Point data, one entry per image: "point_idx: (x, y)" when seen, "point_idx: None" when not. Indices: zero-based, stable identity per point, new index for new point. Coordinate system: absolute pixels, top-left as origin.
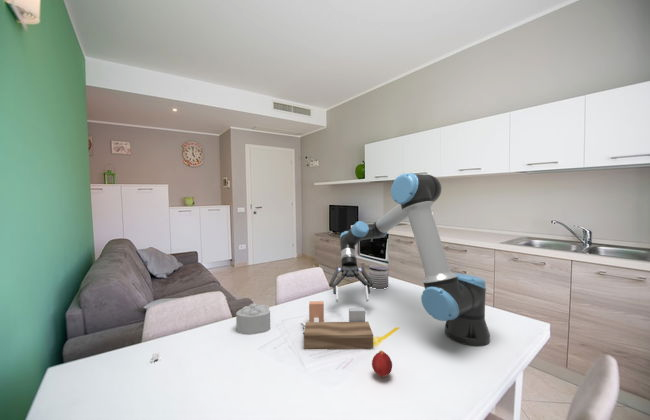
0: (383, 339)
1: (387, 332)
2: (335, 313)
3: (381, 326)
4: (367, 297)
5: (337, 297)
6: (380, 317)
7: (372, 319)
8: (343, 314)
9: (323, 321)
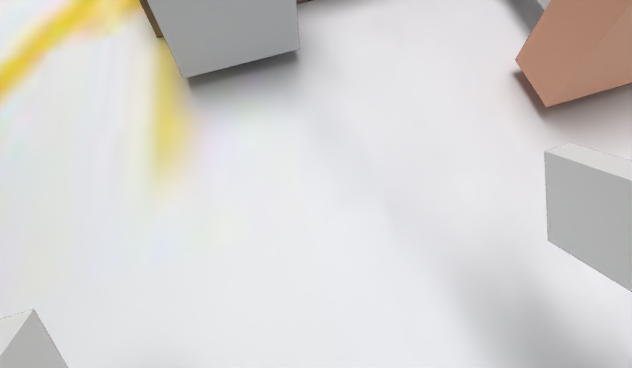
0: (59, 11)
1: (9, 94)
2: (518, 316)
3: (37, 169)
4: (7, 335)
5: (579, 158)
6: None
7: (103, 283)
8: (424, 316)
9: (522, 50)
